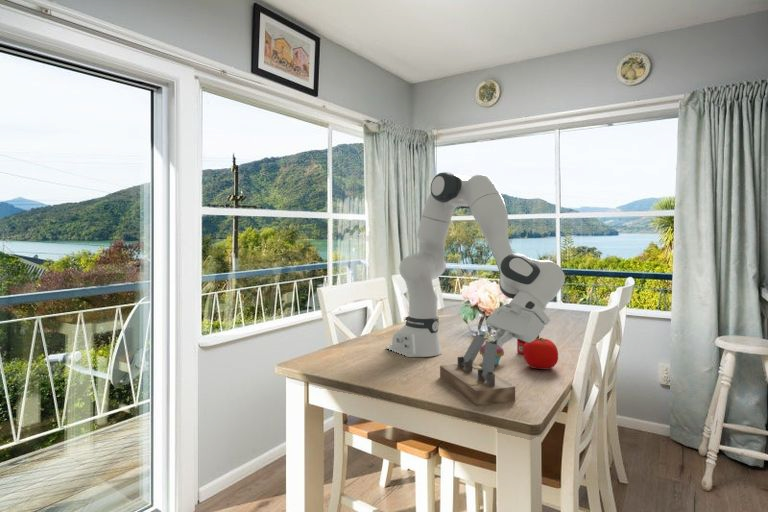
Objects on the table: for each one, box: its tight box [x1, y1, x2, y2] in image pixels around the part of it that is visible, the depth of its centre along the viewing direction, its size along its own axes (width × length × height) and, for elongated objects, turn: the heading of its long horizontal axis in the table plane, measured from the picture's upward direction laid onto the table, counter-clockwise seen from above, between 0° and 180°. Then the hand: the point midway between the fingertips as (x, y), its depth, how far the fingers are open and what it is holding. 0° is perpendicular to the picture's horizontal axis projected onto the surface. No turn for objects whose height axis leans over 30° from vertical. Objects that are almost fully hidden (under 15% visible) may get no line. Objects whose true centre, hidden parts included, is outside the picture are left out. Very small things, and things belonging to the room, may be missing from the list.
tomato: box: [522, 337, 559, 370], centre depth 152 cm, size 11×12×10 cm
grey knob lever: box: [461, 329, 487, 363], centre depth 139 cm, size 2×4×12 cm
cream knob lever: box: [481, 334, 497, 378], centre depth 126 cm, size 2×4×12 cm, turn 18°
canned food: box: [516, 334, 540, 357], centre depth 170 cm, size 8×8×11 cm
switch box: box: [439, 355, 516, 407], centre depth 132 cm, size 12×24×7 cm, turn 17°
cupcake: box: [479, 332, 505, 366], centre depth 157 cm, size 9×8×12 cm
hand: (495, 344), depth 126 cm, fingers closed, pressing on cream knob lever
